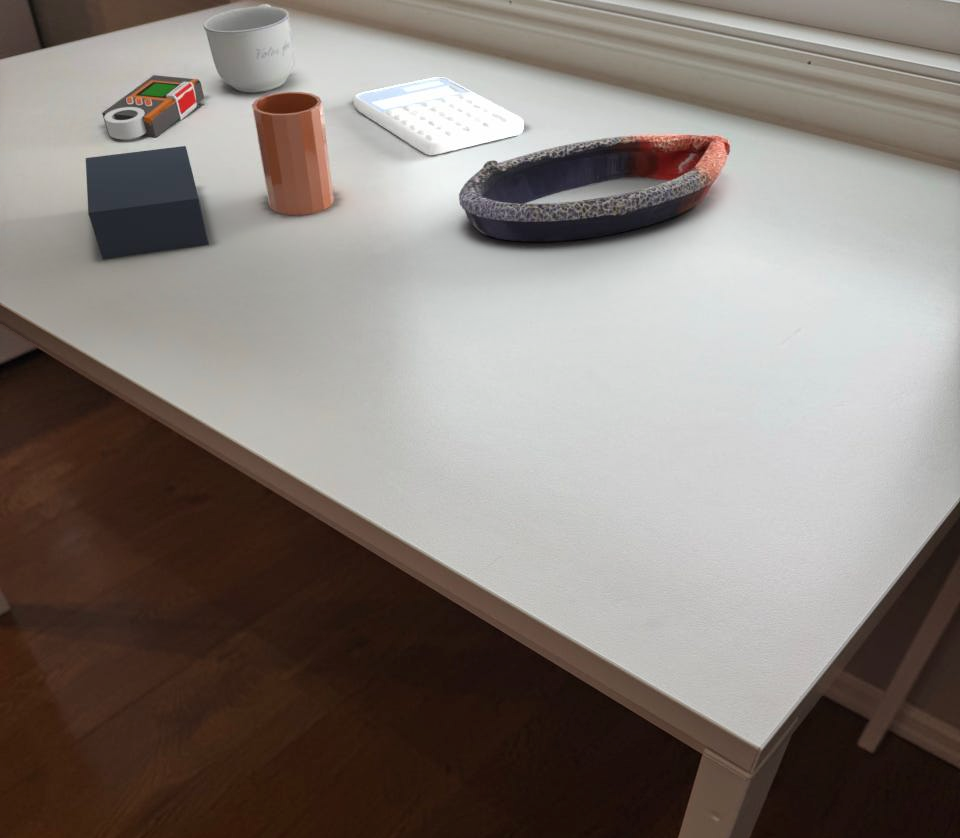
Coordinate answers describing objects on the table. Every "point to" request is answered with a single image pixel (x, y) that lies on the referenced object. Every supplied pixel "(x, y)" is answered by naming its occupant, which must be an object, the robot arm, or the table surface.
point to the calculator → (438, 115)
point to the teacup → (252, 47)
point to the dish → (512, 183)
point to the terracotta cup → (294, 152)
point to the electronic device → (153, 107)
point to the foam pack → (144, 202)
